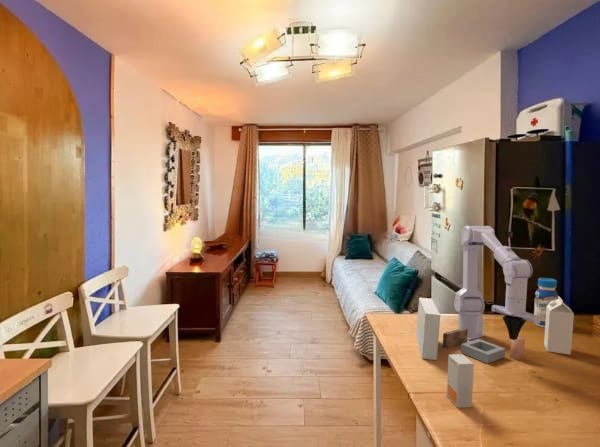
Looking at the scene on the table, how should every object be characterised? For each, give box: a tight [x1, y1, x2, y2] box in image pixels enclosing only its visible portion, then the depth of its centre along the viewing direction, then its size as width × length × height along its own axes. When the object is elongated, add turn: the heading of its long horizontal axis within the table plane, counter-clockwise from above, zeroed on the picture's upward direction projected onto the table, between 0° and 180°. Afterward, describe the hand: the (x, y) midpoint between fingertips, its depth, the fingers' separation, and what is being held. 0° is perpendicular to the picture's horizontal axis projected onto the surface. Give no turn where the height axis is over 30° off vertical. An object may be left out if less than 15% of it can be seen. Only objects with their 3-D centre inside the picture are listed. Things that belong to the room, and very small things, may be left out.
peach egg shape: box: [509, 335, 526, 361], centre depth 130 cm, size 4×4×7 cm
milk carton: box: [543, 295, 575, 356], centre depth 137 cm, size 7×7×19 cm
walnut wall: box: [442, 328, 468, 349], centre depth 141 cm, size 12×2×5 cm, turn 121°
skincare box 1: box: [415, 297, 441, 361], centre depth 137 cm, size 21×5×16 cm, turn 168°
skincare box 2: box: [446, 353, 475, 409], centre depth 102 cm, size 6×4×12 cm
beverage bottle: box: [533, 277, 559, 328], centre depth 163 cm, size 8×8×20 cm
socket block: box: [460, 338, 506, 364], centre depth 132 cm, size 10×10×3 cm
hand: (513, 338), depth 123 cm, fingers closed
